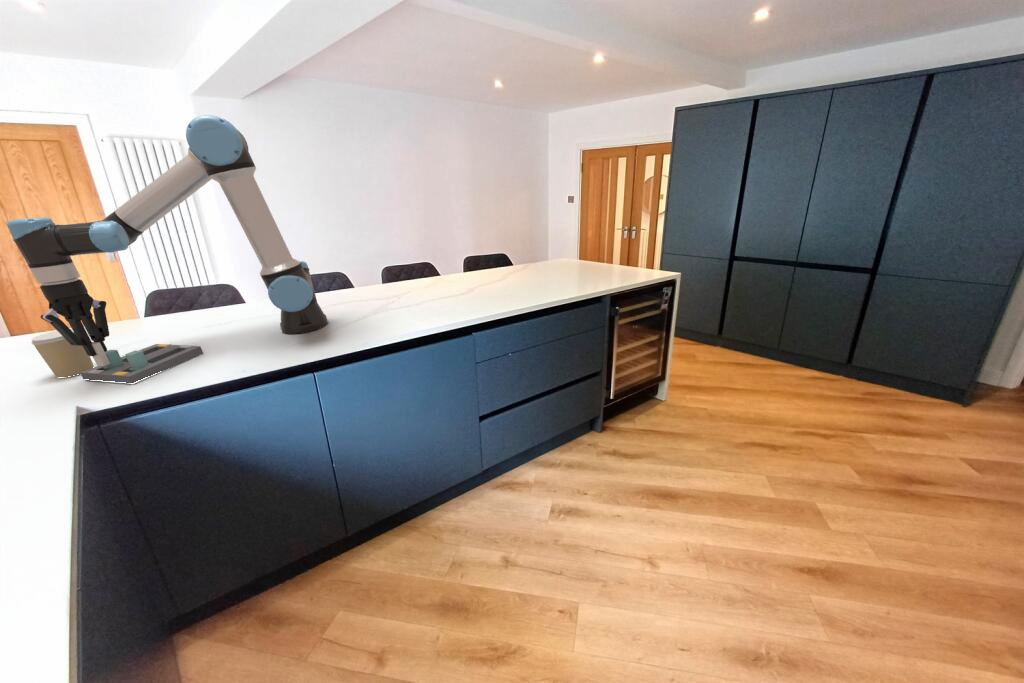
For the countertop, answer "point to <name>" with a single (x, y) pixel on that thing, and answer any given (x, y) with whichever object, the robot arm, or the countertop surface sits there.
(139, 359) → the tab
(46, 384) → the countertop surface
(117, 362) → the tab
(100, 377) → the switch board
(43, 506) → the countertop surface
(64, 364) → the coffee cup
